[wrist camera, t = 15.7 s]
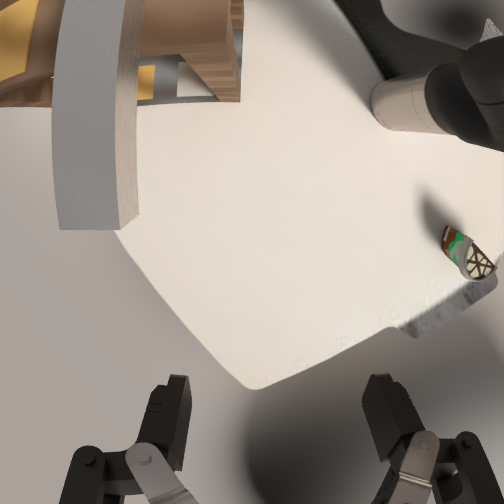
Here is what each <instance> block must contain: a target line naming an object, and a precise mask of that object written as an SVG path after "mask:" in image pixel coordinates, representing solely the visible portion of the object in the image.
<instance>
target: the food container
mask: <svg viewBox="0 0 504 504" xmlns="http://www.w3.org/2000/svg"><path fill="white" fill-rule="evenodd" d="M473 241H474V240H472V239H471V238H470V237H468V236H467V235H463V234H462V233H460V232H458V231H456V230H454V229H453V228H451V227H449V226H446V228H445V230H444V233H443V236H442V249H443V252H444V254H445V255H446V256H447V257H448V258H449V259H450V260H451V261H452V262H454V263H455V264H456V265H457V266H458V267H459V270H460V272H461V274H462V275H463V277H465V278H466V279H468V280H471V281H474V282H482V281H484V280H486V279H488V278H489V277H491V276H492V275H493V274H494V272H495V271H496V269H497V268H498V267H496V266H495V265H494V264H492V262H491V261H490V260H489V259H488V258H487V257H486V255H485V254H484V253H483V252H482V251H481V250H480V249H479V248H478V247H477V246H476V245H475V244H474V243H473Z"/></svg>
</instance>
